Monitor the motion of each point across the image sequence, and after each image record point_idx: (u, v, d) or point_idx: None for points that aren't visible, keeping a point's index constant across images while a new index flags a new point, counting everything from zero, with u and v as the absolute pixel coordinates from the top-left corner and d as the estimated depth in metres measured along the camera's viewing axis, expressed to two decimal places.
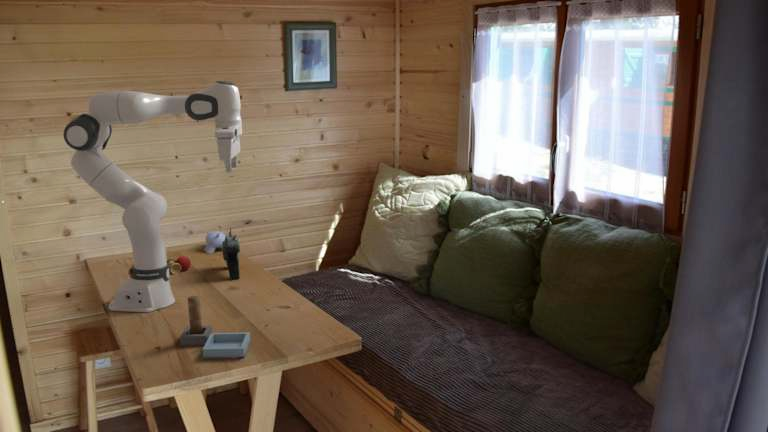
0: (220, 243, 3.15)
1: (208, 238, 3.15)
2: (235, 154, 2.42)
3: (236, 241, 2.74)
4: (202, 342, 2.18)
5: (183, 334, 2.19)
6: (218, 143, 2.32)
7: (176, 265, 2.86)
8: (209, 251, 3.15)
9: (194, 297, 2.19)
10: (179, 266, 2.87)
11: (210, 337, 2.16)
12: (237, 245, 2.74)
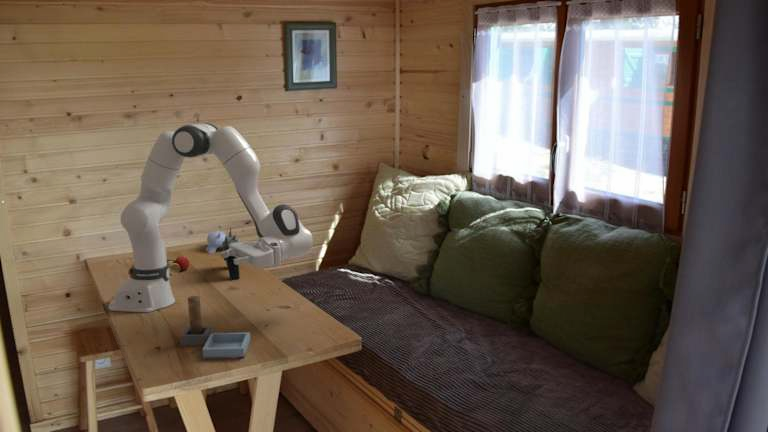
0: (221, 243, 3.15)
1: (209, 238, 3.15)
2: None
3: (236, 241, 2.74)
4: (202, 342, 2.18)
5: (183, 334, 2.19)
6: (271, 252, 2.21)
7: (174, 265, 2.86)
8: (210, 251, 3.15)
9: (194, 297, 2.19)
10: (178, 266, 2.87)
11: (210, 337, 2.16)
12: None
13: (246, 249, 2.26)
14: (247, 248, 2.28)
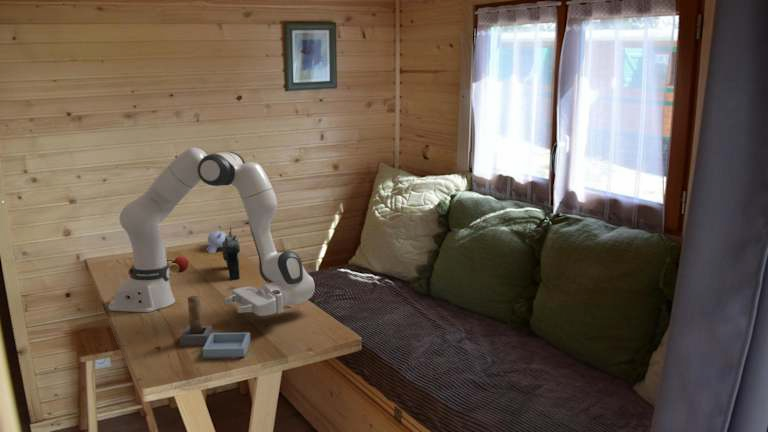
0: (222, 243, 3.15)
1: (210, 238, 3.15)
2: None
3: (236, 241, 2.74)
4: (202, 342, 2.18)
5: (183, 334, 2.19)
6: (273, 301, 2.25)
7: (174, 265, 2.86)
8: (211, 251, 3.15)
9: (194, 297, 2.19)
10: (177, 266, 2.87)
11: (210, 337, 2.16)
12: (237, 245, 2.74)
13: (249, 296, 2.30)
14: (250, 295, 2.31)
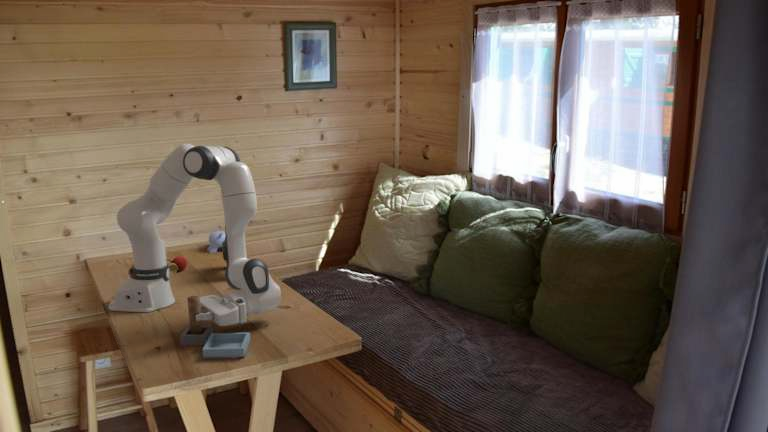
0: None
1: (211, 238, 3.15)
2: None
3: None
4: (202, 342, 2.18)
5: (183, 334, 2.19)
6: (236, 310, 2.18)
7: (172, 265, 2.86)
8: (211, 251, 3.15)
9: (194, 297, 2.19)
10: (175, 266, 2.87)
11: (210, 337, 2.16)
12: None
13: (211, 306, 2.22)
14: (212, 304, 2.24)
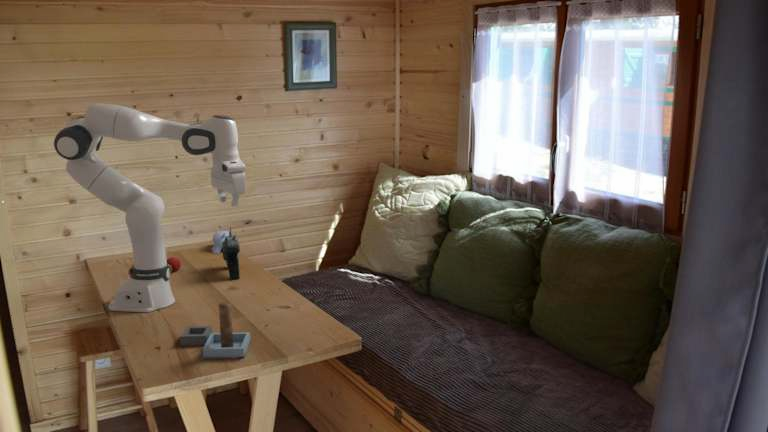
0: None
1: (214, 238, 3.16)
2: None
3: (236, 241, 2.74)
4: (202, 342, 2.18)
5: (183, 334, 2.19)
6: (233, 178, 2.31)
7: None
8: (215, 251, 3.15)
9: (225, 303, 2.11)
10: (169, 267, 2.86)
11: (210, 337, 2.16)
12: (237, 245, 2.74)
13: (223, 186, 2.39)
14: (221, 183, 2.39)
